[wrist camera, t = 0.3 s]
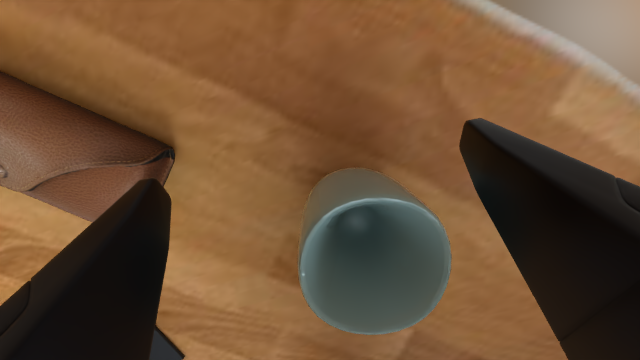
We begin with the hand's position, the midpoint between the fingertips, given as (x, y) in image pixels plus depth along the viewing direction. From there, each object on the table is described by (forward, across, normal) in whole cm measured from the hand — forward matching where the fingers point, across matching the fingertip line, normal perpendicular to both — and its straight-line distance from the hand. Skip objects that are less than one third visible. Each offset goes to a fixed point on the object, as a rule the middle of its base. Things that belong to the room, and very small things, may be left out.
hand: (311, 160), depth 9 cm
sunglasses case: (+14, +20, +6) cm, 25 cm away
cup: (+9, -2, +14) cm, 16 cm away
